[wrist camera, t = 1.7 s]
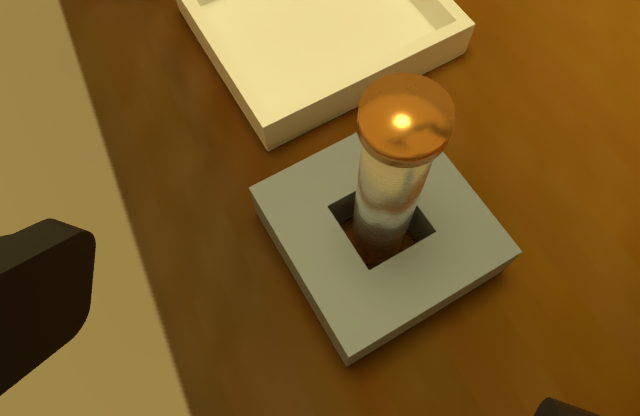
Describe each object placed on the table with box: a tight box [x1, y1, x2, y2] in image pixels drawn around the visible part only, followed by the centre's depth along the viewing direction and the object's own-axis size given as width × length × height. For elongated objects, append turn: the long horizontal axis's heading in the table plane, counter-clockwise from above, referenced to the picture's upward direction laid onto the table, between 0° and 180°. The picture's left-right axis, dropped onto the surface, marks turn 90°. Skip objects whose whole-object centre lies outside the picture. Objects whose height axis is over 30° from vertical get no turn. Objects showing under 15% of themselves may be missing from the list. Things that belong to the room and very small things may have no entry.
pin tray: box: [176, 0, 475, 151], centre depth 41 cm, size 18×16×3 cm
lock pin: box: [351, 73, 456, 266], centre depth 28 cm, size 4×4×15 cm
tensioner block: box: [249, 133, 522, 367], centre depth 33 cm, size 12×12×4 cm
